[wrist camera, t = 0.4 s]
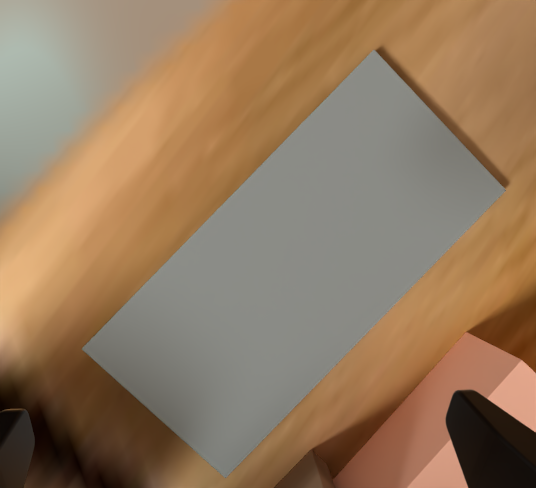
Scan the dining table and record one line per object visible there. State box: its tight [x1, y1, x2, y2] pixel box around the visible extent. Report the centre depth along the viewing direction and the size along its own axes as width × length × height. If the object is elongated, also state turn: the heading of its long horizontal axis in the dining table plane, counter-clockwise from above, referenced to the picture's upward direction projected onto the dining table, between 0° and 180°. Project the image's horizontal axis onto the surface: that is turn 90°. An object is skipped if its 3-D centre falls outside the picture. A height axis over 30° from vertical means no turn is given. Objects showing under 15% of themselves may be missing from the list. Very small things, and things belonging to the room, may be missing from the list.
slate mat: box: [82, 50, 506, 478], centre depth 23 cm, size 10×21×1 cm, turn 135°
